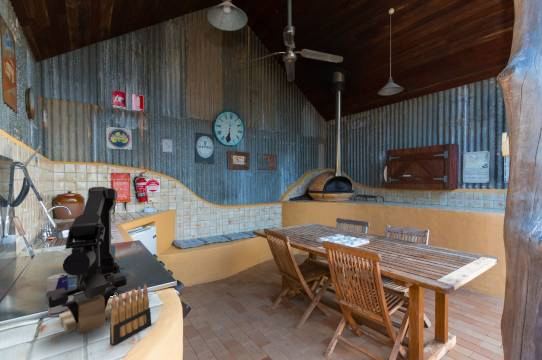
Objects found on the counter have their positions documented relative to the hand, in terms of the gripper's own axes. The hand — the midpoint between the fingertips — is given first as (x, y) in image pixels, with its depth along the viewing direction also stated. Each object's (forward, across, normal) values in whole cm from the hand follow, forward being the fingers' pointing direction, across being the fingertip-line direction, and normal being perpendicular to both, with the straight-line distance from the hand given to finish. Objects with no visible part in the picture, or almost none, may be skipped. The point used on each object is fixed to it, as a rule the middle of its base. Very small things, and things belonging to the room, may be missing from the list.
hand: (90, 317), depth 76 cm
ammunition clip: (+3, +6, -14) cm, 15 cm away
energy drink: (+3, -4, +18) cm, 19 cm away
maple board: (+2, +6, +7) cm, 9 cm away
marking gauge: (+3, 0, +4) cm, 5 cm away
